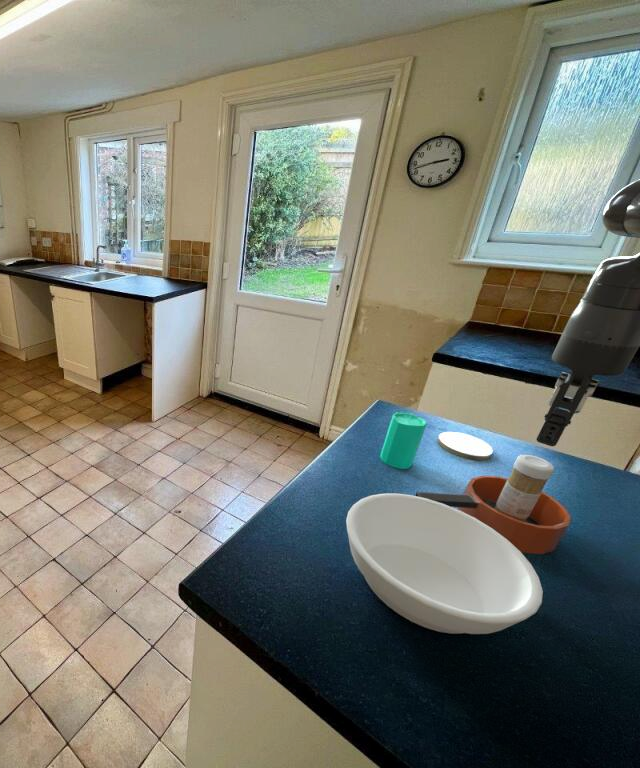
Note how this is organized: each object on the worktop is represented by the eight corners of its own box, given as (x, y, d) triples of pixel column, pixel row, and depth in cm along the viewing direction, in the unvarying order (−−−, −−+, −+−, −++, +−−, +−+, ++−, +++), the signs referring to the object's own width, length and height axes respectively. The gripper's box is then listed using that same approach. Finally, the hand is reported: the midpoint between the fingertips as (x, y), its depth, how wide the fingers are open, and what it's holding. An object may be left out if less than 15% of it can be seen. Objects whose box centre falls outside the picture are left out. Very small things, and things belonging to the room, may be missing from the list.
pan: (516, 501, 78) (528, 477, 76) (578, 557, 66) (594, 531, 64) (393, 493, 80) (401, 470, 78) (431, 546, 68) (442, 521, 66)
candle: (417, 470, 87) (434, 420, 82) (386, 467, 88) (402, 418, 83) (404, 453, 92) (420, 406, 87) (375, 451, 93) (389, 404, 88)
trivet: (472, 436, 99) (474, 432, 98) (502, 461, 90) (504, 457, 89) (428, 434, 100) (429, 430, 99) (453, 458, 91) (455, 454, 90)
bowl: (338, 514, 75) (349, 477, 72) (494, 560, 66) (515, 521, 62) (329, 617, 57) (343, 574, 54) (542, 701, 48) (575, 656, 44)
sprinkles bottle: (514, 518, 74) (547, 456, 68) (526, 536, 70) (561, 472, 65) (483, 512, 76) (513, 451, 70) (493, 529, 72) (525, 466, 66)
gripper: (637, 355, 51) (576, 462, 58) (644, 332, 59) (590, 428, 66) (555, 339, 57) (508, 439, 64) (572, 320, 65) (529, 411, 72)
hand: (550, 433), depth 65 cm, fingers open, 8 cm apart
